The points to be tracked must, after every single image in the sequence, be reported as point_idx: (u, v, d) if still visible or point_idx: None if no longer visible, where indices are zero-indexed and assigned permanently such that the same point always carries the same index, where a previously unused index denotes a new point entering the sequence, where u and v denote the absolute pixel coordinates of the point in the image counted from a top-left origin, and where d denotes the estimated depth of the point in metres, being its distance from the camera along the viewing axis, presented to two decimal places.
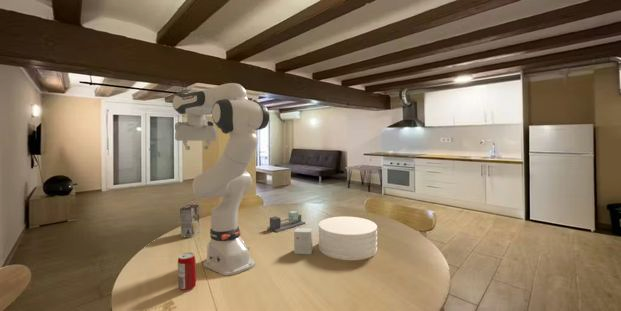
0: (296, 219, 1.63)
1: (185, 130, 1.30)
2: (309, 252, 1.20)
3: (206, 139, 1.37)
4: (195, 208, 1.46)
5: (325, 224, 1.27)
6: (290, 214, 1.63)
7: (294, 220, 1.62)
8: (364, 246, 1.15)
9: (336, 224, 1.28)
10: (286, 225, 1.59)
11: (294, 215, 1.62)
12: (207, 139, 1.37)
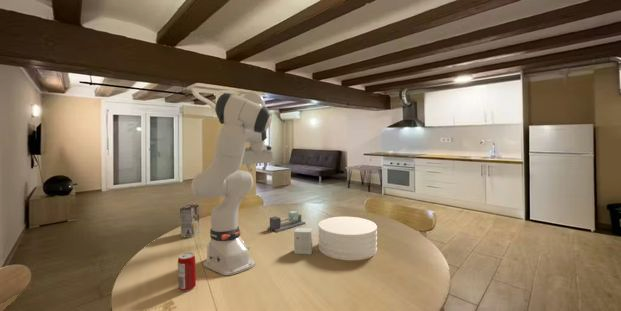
0: (296, 219, 1.63)
1: (249, 155, 1.47)
2: (309, 252, 1.20)
3: (264, 161, 1.54)
4: (195, 208, 1.46)
5: (325, 224, 1.27)
6: (290, 214, 1.63)
7: (294, 220, 1.62)
8: (364, 246, 1.15)
9: (336, 224, 1.28)
10: (286, 225, 1.59)
11: (294, 215, 1.62)
12: (265, 161, 1.54)
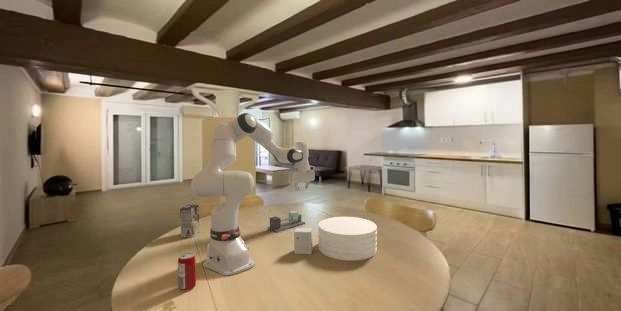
0: (296, 219, 1.63)
1: (296, 175, 1.63)
2: (309, 252, 1.20)
3: (308, 180, 1.70)
4: (195, 208, 1.46)
5: (324, 224, 1.27)
6: (290, 214, 1.63)
7: (294, 220, 1.62)
8: (364, 246, 1.15)
9: (336, 224, 1.27)
10: (286, 225, 1.59)
11: (294, 215, 1.62)
12: (309, 180, 1.70)
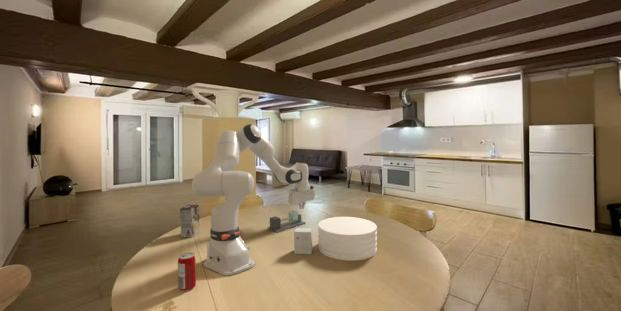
0: (296, 219, 1.63)
1: (296, 195, 1.64)
2: (309, 252, 1.20)
3: (308, 200, 1.71)
4: (195, 208, 1.46)
5: (324, 225, 1.27)
6: (290, 214, 1.63)
7: (294, 220, 1.62)
8: (364, 246, 1.15)
9: (336, 224, 1.27)
10: (286, 225, 1.59)
11: (294, 215, 1.62)
12: (309, 199, 1.71)
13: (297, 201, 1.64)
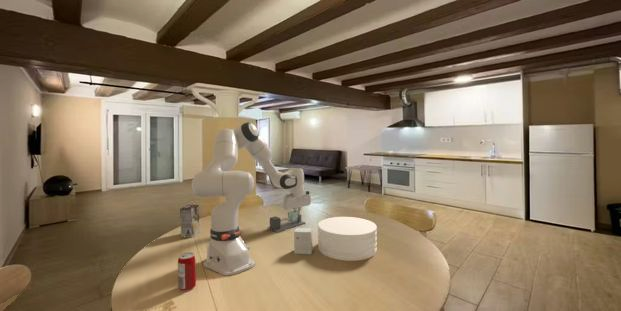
0: (295, 219, 1.62)
1: (291, 201, 1.60)
2: (309, 252, 1.20)
3: (304, 205, 1.67)
4: (195, 208, 1.46)
5: (324, 225, 1.27)
6: (289, 214, 1.62)
7: (293, 220, 1.61)
8: (363, 246, 1.15)
9: (335, 224, 1.27)
10: (286, 225, 1.59)
11: (293, 215, 1.61)
12: (304, 205, 1.67)
13: (292, 207, 1.60)
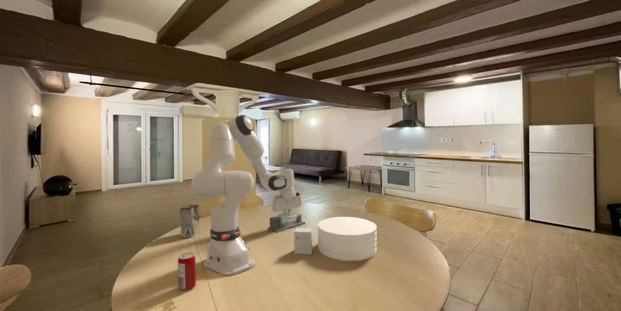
0: (285, 222, 1.57)
1: (280, 203, 1.55)
2: (309, 252, 1.20)
3: (294, 207, 1.62)
4: (195, 208, 1.46)
5: (324, 225, 1.27)
6: (279, 217, 1.57)
7: (283, 223, 1.56)
8: (363, 247, 1.14)
9: (335, 224, 1.27)
10: (286, 225, 1.59)
11: (283, 218, 1.56)
12: (294, 207, 1.62)
13: (282, 209, 1.55)
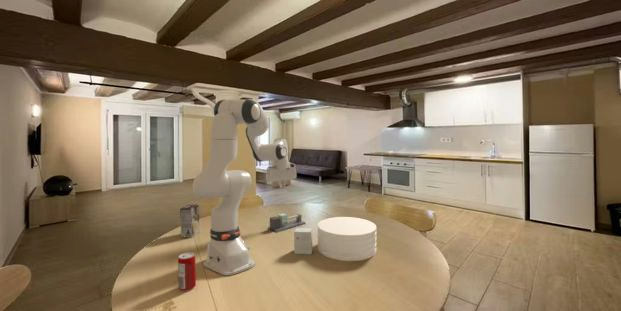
0: (285, 222, 1.57)
1: (275, 173, 1.55)
2: (309, 252, 1.20)
3: (289, 178, 1.61)
4: (195, 208, 1.46)
5: (324, 225, 1.26)
6: (279, 217, 1.57)
7: (283, 223, 1.56)
8: (363, 247, 1.14)
9: (335, 224, 1.27)
10: (286, 225, 1.59)
11: (283, 218, 1.56)
12: (289, 178, 1.62)
13: (276, 179, 1.55)
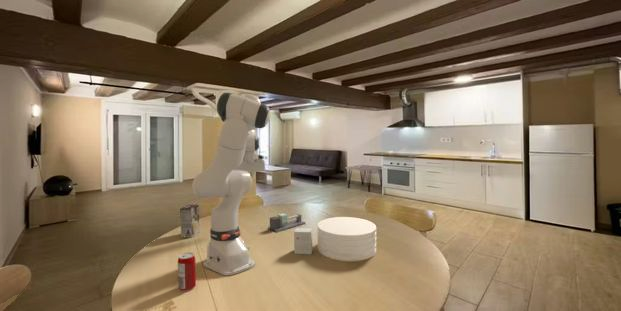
0: (285, 222, 1.57)
1: (241, 164, 1.51)
2: (309, 252, 1.20)
3: (256, 170, 1.58)
4: (195, 208, 1.46)
5: (324, 225, 1.26)
6: (279, 217, 1.57)
7: (283, 223, 1.56)
8: (363, 247, 1.14)
9: (335, 225, 1.27)
10: (286, 225, 1.59)
11: (283, 218, 1.56)
12: (257, 170, 1.58)
13: (242, 171, 1.51)
